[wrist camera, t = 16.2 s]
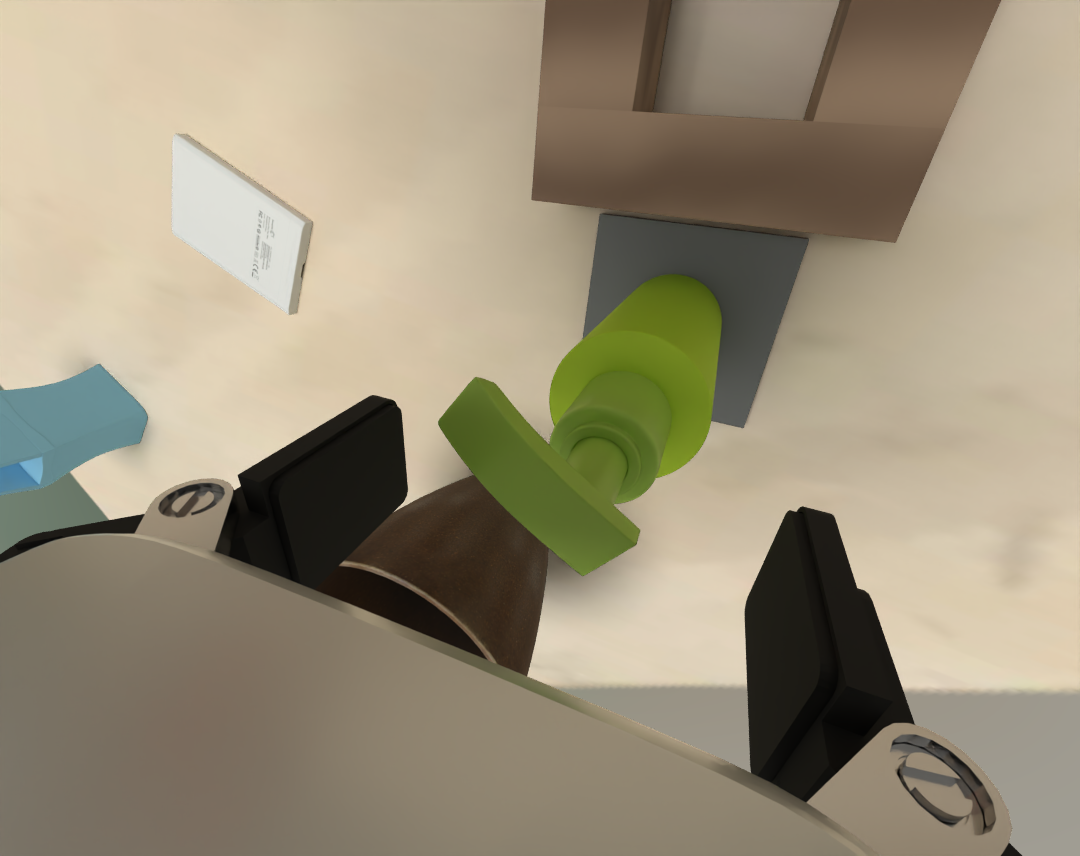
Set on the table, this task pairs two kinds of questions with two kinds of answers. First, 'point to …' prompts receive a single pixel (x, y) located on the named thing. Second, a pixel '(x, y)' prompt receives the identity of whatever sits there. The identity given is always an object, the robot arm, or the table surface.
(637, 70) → the socket block
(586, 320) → the rubber mat
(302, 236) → the external hard drive
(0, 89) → the table surface
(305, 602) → the robot arm
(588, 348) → the soap dispenser
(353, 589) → the plant pot
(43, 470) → the light blue angular piece
